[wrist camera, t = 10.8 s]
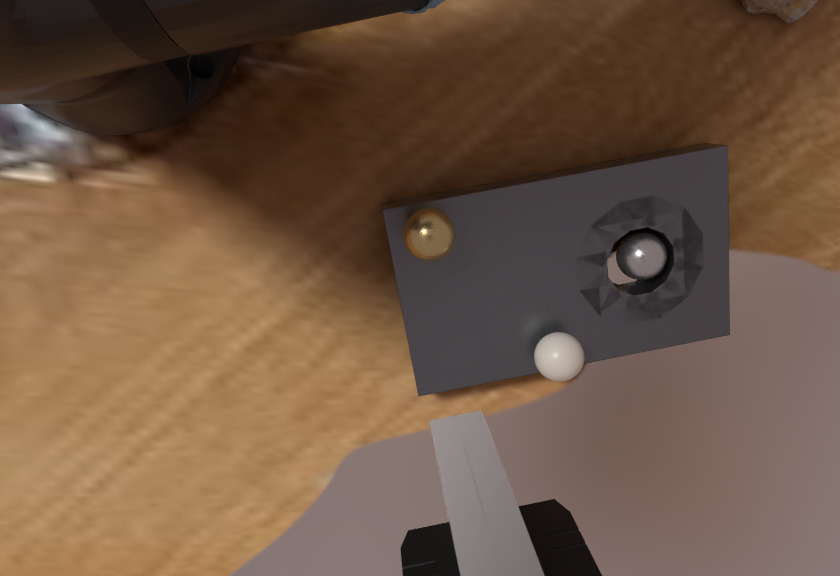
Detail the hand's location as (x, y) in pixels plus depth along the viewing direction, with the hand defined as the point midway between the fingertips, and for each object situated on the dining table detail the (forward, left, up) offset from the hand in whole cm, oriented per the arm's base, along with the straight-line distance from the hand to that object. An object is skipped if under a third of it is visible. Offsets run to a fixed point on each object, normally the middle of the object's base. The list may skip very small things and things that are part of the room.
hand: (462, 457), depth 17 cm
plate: (+3, +10, -24) cm, 27 cm away
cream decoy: (+8, +9, -20) cm, 23 cm away
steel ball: (+3, +16, -23) cm, 28 cm away
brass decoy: (-2, +2, -20) cm, 20 cm away
